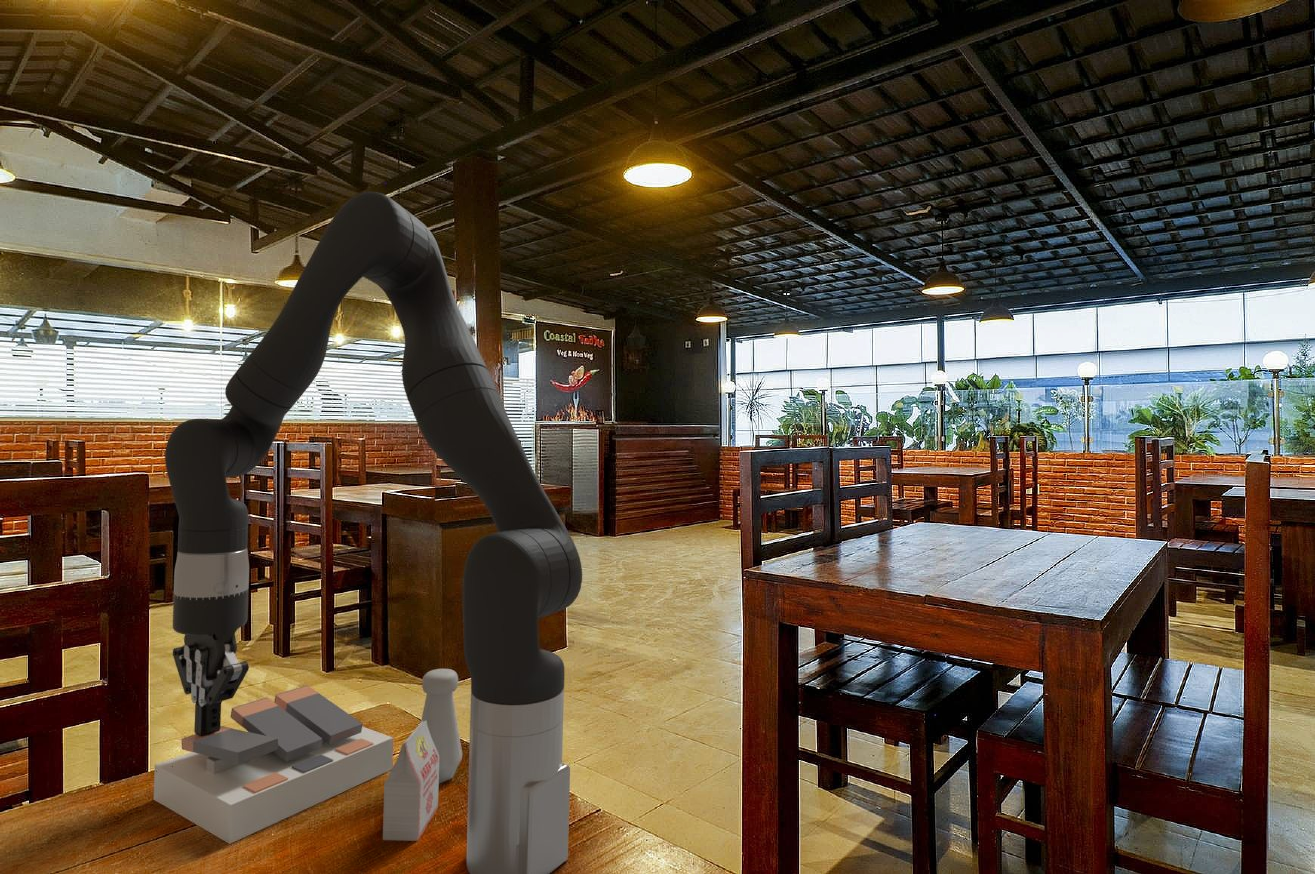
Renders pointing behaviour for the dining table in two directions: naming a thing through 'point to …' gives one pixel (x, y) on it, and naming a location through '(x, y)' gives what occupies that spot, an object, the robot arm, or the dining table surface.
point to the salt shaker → (442, 719)
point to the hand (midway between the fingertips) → (207, 733)
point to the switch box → (266, 783)
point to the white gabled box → (412, 788)
